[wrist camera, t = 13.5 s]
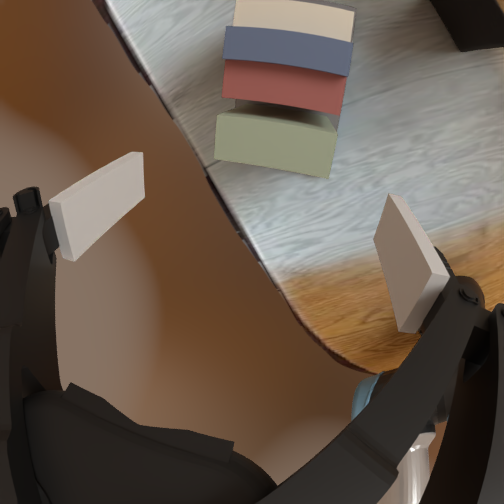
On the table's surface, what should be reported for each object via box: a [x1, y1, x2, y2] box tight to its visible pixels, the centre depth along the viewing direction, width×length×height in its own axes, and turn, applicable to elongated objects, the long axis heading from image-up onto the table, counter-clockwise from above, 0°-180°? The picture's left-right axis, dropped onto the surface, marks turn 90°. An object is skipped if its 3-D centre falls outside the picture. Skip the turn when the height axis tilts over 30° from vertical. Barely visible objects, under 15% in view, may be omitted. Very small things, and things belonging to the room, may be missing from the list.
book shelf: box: [222, 0, 356, 132], centre depth 25 cm, size 23×13×14 cm, turn 174°
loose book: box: [214, 104, 338, 179], centre depth 28 cm, size 4×10×13 cm, turn 84°
